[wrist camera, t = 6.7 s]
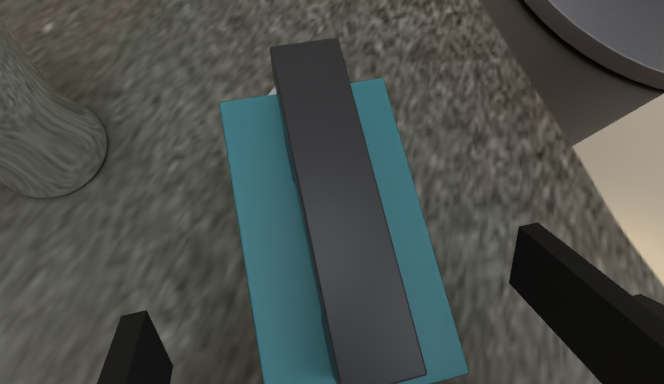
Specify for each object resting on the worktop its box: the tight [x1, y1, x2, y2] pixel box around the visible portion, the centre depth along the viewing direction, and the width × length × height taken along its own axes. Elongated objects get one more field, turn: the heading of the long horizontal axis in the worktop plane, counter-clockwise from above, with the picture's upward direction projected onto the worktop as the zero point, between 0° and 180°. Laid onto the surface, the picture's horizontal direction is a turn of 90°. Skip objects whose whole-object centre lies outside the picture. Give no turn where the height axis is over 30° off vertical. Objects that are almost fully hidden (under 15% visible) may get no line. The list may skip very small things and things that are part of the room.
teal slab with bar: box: [219, 38, 469, 384], centre depth 17 cm, size 18×8×11 cm, turn 13°
